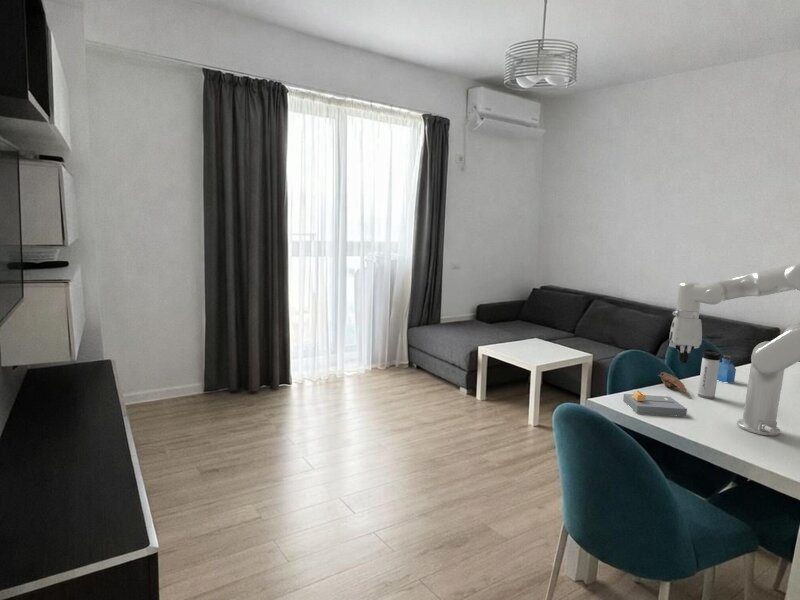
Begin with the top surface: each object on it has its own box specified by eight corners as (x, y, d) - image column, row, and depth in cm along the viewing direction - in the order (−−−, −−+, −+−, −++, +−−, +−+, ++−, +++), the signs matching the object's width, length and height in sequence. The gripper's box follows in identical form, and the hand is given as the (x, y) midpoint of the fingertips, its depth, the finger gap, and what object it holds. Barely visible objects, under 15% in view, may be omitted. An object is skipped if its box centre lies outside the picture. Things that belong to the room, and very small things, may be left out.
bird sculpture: (678, 397, 211) (680, 386, 211) (651, 379, 236) (652, 369, 235) (694, 398, 211) (696, 386, 211) (665, 380, 236) (666, 370, 235)
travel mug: (709, 394, 217) (715, 349, 214) (717, 399, 211) (724, 353, 208) (694, 393, 218) (700, 348, 215) (701, 398, 211) (708, 352, 208)
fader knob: (645, 401, 194) (645, 394, 194) (637, 400, 194) (637, 393, 194) (640, 397, 198) (641, 391, 198) (633, 397, 198) (633, 390, 198)
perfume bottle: (712, 379, 241) (716, 355, 239) (721, 378, 244) (724, 354, 242) (725, 383, 235) (729, 358, 234) (734, 382, 238) (737, 357, 236)
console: (686, 416, 189) (687, 408, 188) (636, 413, 190) (637, 405, 189) (668, 403, 203) (669, 396, 202) (623, 400, 204) (623, 393, 203)
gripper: (671, 315, 187) (666, 364, 189) (713, 317, 186) (708, 365, 188) (662, 312, 194) (658, 359, 197) (702, 314, 193) (697, 360, 196)
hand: (682, 362), depth 192 cm, fingers closed
